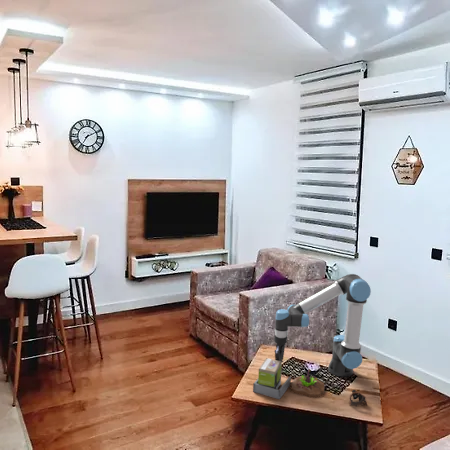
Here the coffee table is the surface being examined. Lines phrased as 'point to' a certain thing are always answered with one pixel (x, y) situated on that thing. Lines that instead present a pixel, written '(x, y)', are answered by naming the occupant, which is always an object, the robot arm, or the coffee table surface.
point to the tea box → (270, 373)
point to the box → (271, 389)
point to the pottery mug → (355, 396)
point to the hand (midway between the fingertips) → (278, 372)
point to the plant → (307, 386)
